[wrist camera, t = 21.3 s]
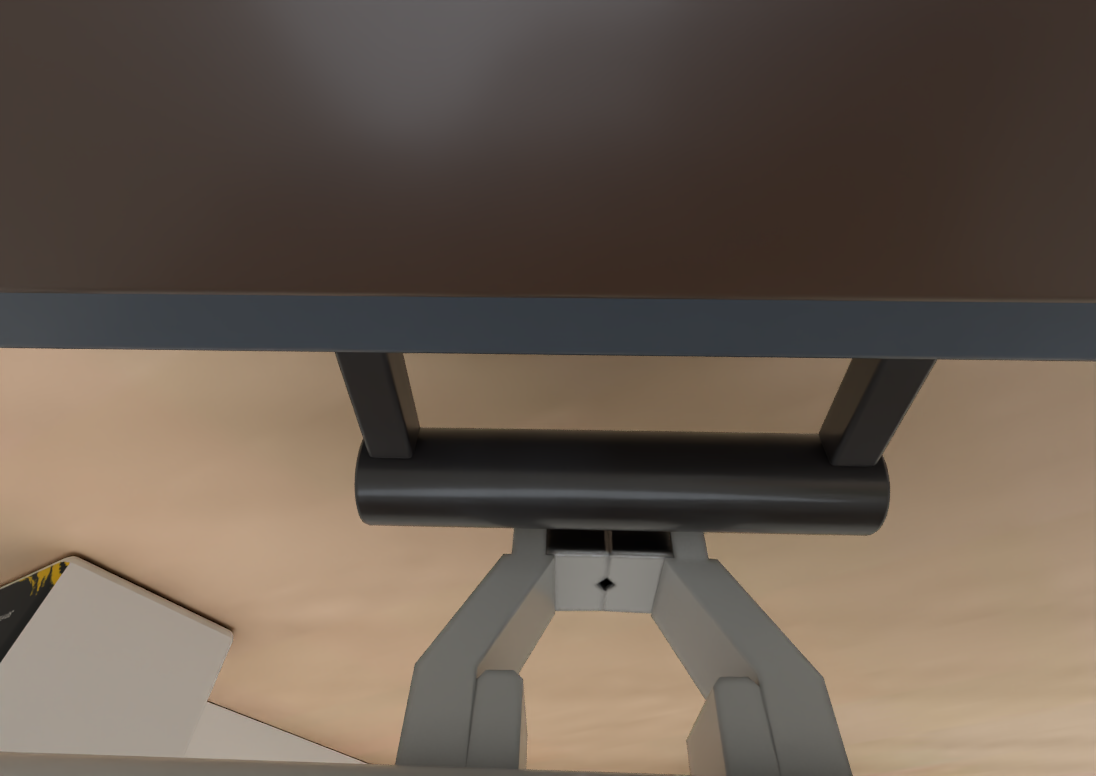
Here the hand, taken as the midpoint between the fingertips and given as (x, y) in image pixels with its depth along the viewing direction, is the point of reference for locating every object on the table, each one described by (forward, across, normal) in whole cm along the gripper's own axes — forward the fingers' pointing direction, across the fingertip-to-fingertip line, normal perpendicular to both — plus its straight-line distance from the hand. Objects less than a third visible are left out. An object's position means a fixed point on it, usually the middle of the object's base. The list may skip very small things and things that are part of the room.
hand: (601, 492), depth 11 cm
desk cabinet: (+4, 0, -14) cm, 14 cm away
